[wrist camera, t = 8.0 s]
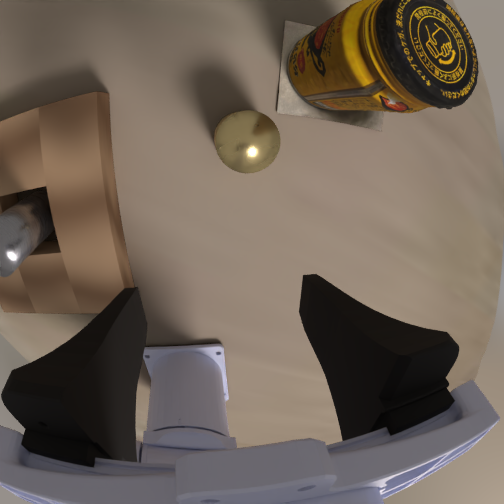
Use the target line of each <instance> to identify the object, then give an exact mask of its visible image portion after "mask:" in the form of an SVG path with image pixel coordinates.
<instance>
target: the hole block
mask: <svg viewBox="0 0 504 504" xmlns="http://www.w3.org/2000/svg"><path fill="white" fill-rule="evenodd" d="M44 186H46V187H47V193H48V198H49V203H50V208H51V213H52V218H53V222H54V227H55V231H56V235H57V239H58V240H55V241H46V242H41V243H40V244H39V246H38V247H37V248H36V249H35V250H34V251H33V252H32V253H31V254H30V255H29V256H28V257H27V258H26V259H25V260H24V261H23V262H22V263H21V264H20V265H19V267H18V268H17V269H16V270H15V271H14V272H13V273H12V274H11V275H10V276H8V277H0V304H1V307H2V309H3V311H4V312H14V313H58V314H87V313H101V312H102V311H103V310H104V308H105V307H106V306H107V305H108V304H109V303H110V302H111V301H112V300H113V299H114V298H115V297H116V296H117V295H118V294H119V293H120V292H121V291H122V290H123V289H124V288H134V287H135V286H134V282H133V278H132V273H131V269H130V264H129V259H128V255H127V250H126V245H125V239H124V234H123V228H122V223H121V216H120V210H119V204H118V197H117V189H116V181H115V173H114V164H113V153H112V142H111V127H110V105H109V93H103V92H98V91H96V92H91V93H87V94H83V95H79V96H75V97H71V98H67V99H64V100H60V101H57V102H54V103H50V104H47V105H44V106H41V107H38V108H35V109H32V110H29V111H26V112H24V113H21V114H18V115H16V116H13V117H10V118H8V119H5V120H3V121H1V122H0V214H1V213H3V212H4V211H6V210H7V209H9V208H10V207H12V206H13V205H15V204H16V203H18V198H17V193H16V192H21V191H25V190H30V189H34V188H39V187H44Z"/></svg>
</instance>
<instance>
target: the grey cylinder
mask: <svg viewBox="0 0 504 504" xmlns="http://www.w3.org/2000/svg"><path fill="white" fill-rule="evenodd" d="M54 230H55V227H54V222H53V218H52V213H51V208H50V203H49V198H48V193H47V191H43V190H39V191H36V192H34V193H32V194H31V195H29V196H27V197H26V198H24V199H23V200H21V201H20V202H18V203H16V204H15V205H13V206H12V207H10V208H9V209H7V210H6V211H4V212H3V213H1V214H0V277H8V276H10V275H11V274H12V273H13V272H14V271H15V270H16V269H17V268H18V267H19V265H20V264H21V263H22V262H23V261H24V260H25V259H26V258H27V257H28V256H29V255H30V254H31V253H32V252H33V251H34V250H35V249H36V248H37V247H38V246H39V244H40V243H41V242H42V241H43V240H45V239H46V238H47V237H48V236H49V235H50V234H51V233H52V232H53V231H54Z"/></svg>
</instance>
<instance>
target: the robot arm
mask: <svg viewBox="0 0 504 504" xmlns="http://www.w3.org/2000/svg"><path fill="white" fill-rule="evenodd" d="M299 313H300V317H301V320H302V324H303V327H304V330H305V332H306V334H307V337H308V339H309V341H310V343H311V345H312V347H313V349H314V351H315V354H316V356H317V358H318V360H319V362H320V364H321V366H322V369H323V371H324V374H325V376H326V379H327V382H328V385H329V389H330V392H331V395H332V399H333V402H334V406H335V409H336V413H337V417H338V421H339V425H340V430H341V435H342V440H343V441H341V442H338V443H334V444H330V445H326V444H325V442H323V441H320V440H316V439H312V438H308V439H298V440H291V441H285V442H279V443H273V444H266V445H259V446H252V447H243V448H237V445H236V438H235V437H230V436H229V428H228V421H227V412H226V404H225V401H227V400H228V399H229V397H228V388H227V378H226V368H225V358H224V348H223V345H222V344H206V345H190V346H169V347H145V344H146V333H147V321H146V318H145V314H144V310H143V306H142V302H141V298H140V294H139V290H138V287H134V288H124V289H123V290H122V291H121V292H120V293H119V294H118V295H117V296H116V297H115V298H114V299H113V300H112V301H111V302H110V303H109V304H108V305H107V306H106V307H105V308H104V310H103V311H102V312H101V313H100V314H99V315H98V316H96V317H95V318H94V319H93V320H92V321H91V322H90V323H89V324H88V325H87V326H86V327H85V328H84V329H82V330H81V331H80V332H79V333H78V334H76V335H75V336H74V337H72V338H71V339H70V340H68V341H67V342H66V343H64V344H63V345H61V346H59V347H58V348H56V349H55V350H53V351H52V352H50V353H48V354H47V355H45V356H43V357H41V358H39V359H37V360H35V361H33V362H31V363H29V364H26V365H24V366H22V367H19V368H17V369H14V370H12V372H11V374H10V376H9V378H8V380H7V382H6V384H5V387H4V389H3V391H2V394H1V397H2V401H3V403H4V405H5V406H6V408H7V409H8V410H9V412H10V413H11V414H12V415H13V416H14V417H15V418H16V419H17V420H18V421H19V423H20V424H21V425H22V426H23V427H24V428H25V432H24V435H23V434H21V433H20V432H18V431H15V430H12V429H9V428H6V427H3V426H1V425H0V485H1V486H2V487H3V488H5V489H7V490H8V491H10V492H11V493H13V494H15V495H16V496H18V497H20V498H21V499H23V500H26V501H28V502H31V503H33V504H384V502H383V499H384V498H386V497H389V496H391V495H393V494H395V493H397V492H399V491H401V490H403V489H405V488H407V487H409V486H411V485H412V484H414V483H416V482H418V481H420V480H422V479H423V478H425V477H427V476H429V475H430V474H432V473H434V472H435V471H437V470H438V469H440V468H442V467H443V466H445V465H446V464H448V463H450V462H451V461H453V460H454V459H456V458H457V457H459V456H461V455H462V454H464V453H465V452H466V451H468V450H469V449H470V448H472V447H473V446H474V445H475V444H476V443H477V442H478V441H479V440H480V439H481V438H482V437H483V436H484V435H485V434H486V433H487V432H488V431H489V430H490V429H491V428H492V427H493V426H494V425H495V424H496V423H497V422H498V421H499V420H500V417H499V416H498V414H497V413H496V411H495V410H494V408H493V407H492V405H491V404H490V403H489V401H488V400H487V398H486V397H485V396H484V394H483V393H482V392H481V391H480V389H479V387H478V386H477V385H476V383H475V382H474V381H473V380H470V381H468V382H466V383H464V384H462V385H460V386H458V387H457V388H455V389H454V390H453V391H451V392H449V391H448V389H447V387H448V386H449V382H448V381H447V379H446V376H447V375H448V373H449V371H450V370H451V368H452V366H453V365H454V363H455V361H456V359H457V357H458V353H459V346H458V344H457V343H456V342H455V341H454V340H453V338H452V337H451V336H450V335H449V334H448V333H447V332H443V331H437V330H432V329H426V328H422V327H418V326H415V325H411V324H408V323H405V322H402V321H399V320H396V319H394V318H391V317H388V316H386V315H384V314H382V313H379V312H377V311H375V310H373V309H371V308H369V307H367V306H366V305H364V304H362V303H360V302H359V301H357V300H355V299H354V298H352V297H350V296H349V295H347V294H346V293H344V292H343V291H341V290H340V289H338V288H337V287H335V286H334V285H332V284H331V283H329V282H328V281H326V280H325V279H323V278H322V277H320V276H319V275H317V274H311V275H303V281H302V290H301V299H300V308H299ZM147 355H149V356H147ZM142 359H144V361H145V364H146V367H147V370H148V372H149V375H150V377H151V388H150V398H149V409H148V420H147V431H144V436H143V444H142V441H137V440H136V431H135V412H136V391H137V384H138V379H139V373H140V368H141V363H142Z"/></svg>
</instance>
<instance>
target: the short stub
mask: <svg viewBox="0 0 504 504" xmlns="http://www.w3.org/2000/svg"><path fill="white" fill-rule="evenodd" d="M214 143H215V147H216V150H217V153H218V155H219V157H220V159H221V160H222V162H223V163H224V164H225V165H226V166H228V167H229V168H231V169H232V170H234V171H237V172H241V173H254V172H258V171H261V170H263V169H265V168H266V167H268V166H269V165H270V164H271V163H272V162H273V161H274V159H275V158H276V156H277V154H278V152H279V148H280V134H279V131H278V129H277V127H276V125H275V123H274V122H273V121H272V120H271V119H270V118H269V117H268V116H266V115H264V114H262V113H260V112H257V111H252V110H245V111H239V112H234V113H231V114H228V115H227V116H225V117H224V118H223V119H221V120H220V122H219V123H218V124H217V126H216V129H215V132H214Z"/></svg>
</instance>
